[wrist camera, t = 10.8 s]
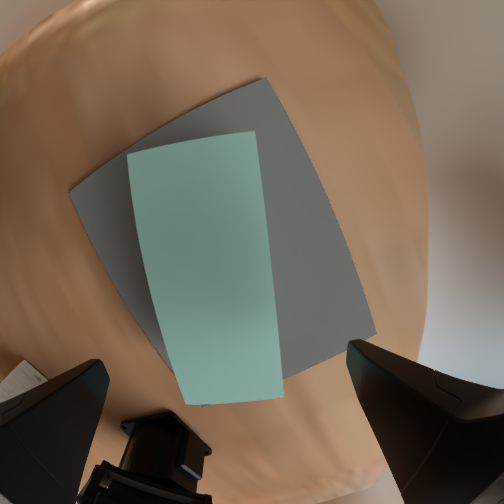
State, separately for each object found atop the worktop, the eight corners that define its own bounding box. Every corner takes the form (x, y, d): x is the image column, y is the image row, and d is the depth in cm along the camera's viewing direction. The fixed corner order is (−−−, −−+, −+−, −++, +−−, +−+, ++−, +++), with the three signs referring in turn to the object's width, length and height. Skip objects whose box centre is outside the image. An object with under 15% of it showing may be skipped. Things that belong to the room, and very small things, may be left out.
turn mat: (202, 403, 18) (202, 407, 18) (72, 192, 15) (68, 192, 14) (374, 331, 17) (376, 333, 17) (265, 80, 14) (266, 77, 13)
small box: (24, 356, 18) (-48, 432, 5) (71, 397, 19) (13, 491, 6) (20, 393, 19) (-31, 458, 6) (61, 427, 20) (19, 502, 7)
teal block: (284, 397, 12) (255, 130, 9) (186, 404, 12) (126, 154, 9) (274, 345, 17) (251, 149, 14) (198, 353, 17) (162, 164, 14)
